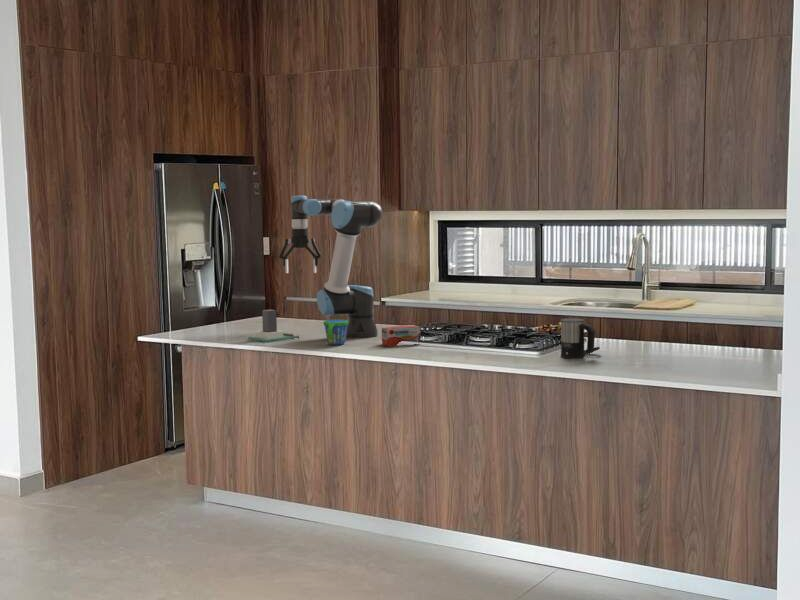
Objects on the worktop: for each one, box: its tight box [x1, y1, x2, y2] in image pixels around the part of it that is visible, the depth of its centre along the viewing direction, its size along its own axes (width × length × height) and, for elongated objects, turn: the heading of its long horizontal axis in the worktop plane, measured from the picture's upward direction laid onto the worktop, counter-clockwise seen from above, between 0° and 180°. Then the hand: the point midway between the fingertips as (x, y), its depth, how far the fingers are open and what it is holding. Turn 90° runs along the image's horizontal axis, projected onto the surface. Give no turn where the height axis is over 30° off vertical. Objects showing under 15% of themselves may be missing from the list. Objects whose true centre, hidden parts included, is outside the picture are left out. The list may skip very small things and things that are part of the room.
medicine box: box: [381, 324, 421, 348], centre depth 413 cm, size 15×8×8 cm, turn 109°
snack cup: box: [323, 319, 348, 346], centre depth 416 cm, size 16×10×10 cm
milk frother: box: [560, 318, 601, 359], centre depth 377 cm, size 14×16×15 cm
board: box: [247, 329, 300, 343], centre depth 434 cm, size 14×18×4 cm
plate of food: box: [535, 321, 588, 333], centre depth 442 cm, size 28×28×6 cm
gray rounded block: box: [261, 309, 278, 333], centre depth 432 cm, size 5×4×12 cm
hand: (300, 273), depth 458 cm, fingers open, 13 cm apart
